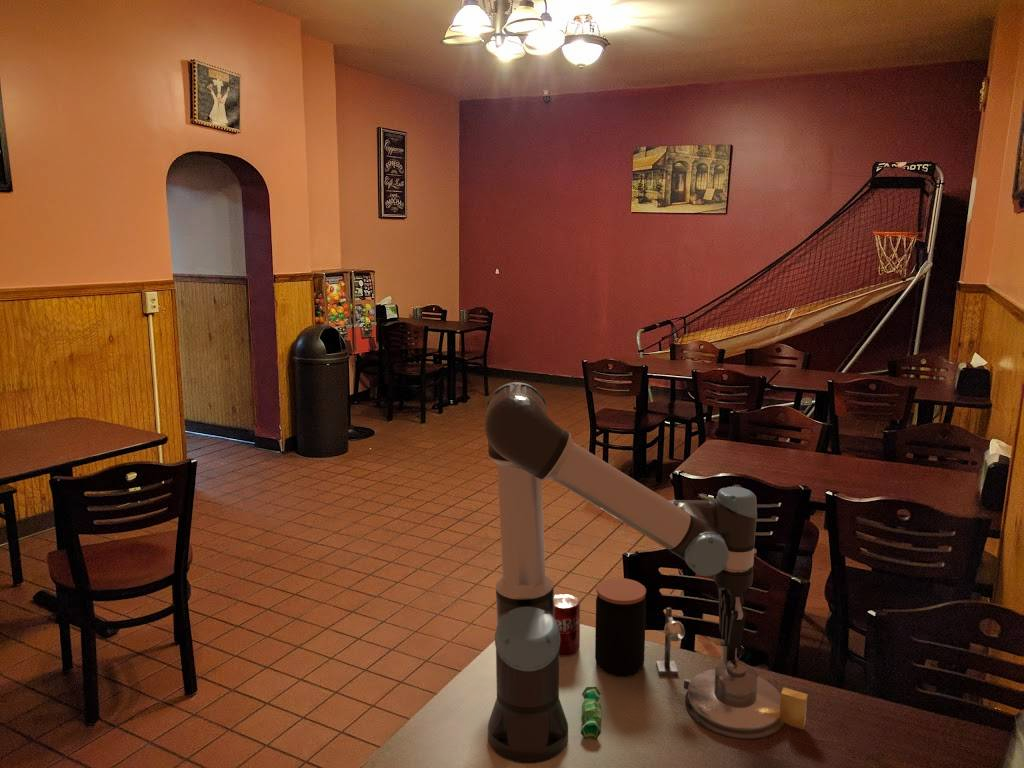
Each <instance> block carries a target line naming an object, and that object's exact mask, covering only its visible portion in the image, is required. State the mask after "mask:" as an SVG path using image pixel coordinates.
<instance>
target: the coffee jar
mask: <svg viewBox="0 0 1024 768" xmlns="http://www.w3.org/2000/svg"><path fill="white" fill-rule="evenodd" d="M596 585H597V586H596V593H597V596H596V598H595V638H594V639H595V641H594V643H595V647H594V653H595V654H594V655H595V656H594V659H595V662H596V665H598V668H599V669H600V670H601V671H602V672H603V673H606V674H607V675H609V676H611V677H612V676H613V677H618V678H627V677H631V676H634V675H637V673H639V672H640V670H641V669H642V668H643V666H644V664H645V652H646V651H645V647H646V645H645V643H646V642H645V641H646V615H647V614H646V611H647V609H646V607H647V600H646V594H647V588H646V587H645V585H643V584H642V583H640V582H639V581H636V580H635V579H634V580H633V579H630V578H626V577H625V578H624V577H614V578H613V577H611V578H608V579H607V578H606V579H604V580H602V581H600V582H599V583H597V584H596Z"/></svg>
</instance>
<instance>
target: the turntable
mask: <svg viewBox="0 0 1024 768" xmlns="http://www.w3.org/2000/svg"><path fill="white" fill-rule="evenodd" d="M714 685H715V668H714V669H713V668H712V669H707V670H703V671H702V672H699V673H697V674H695V675H694V676H693V677H692V678H691V679H688V678H685V679H684V680H683V689H685V690H687V691H688V702H689V705H690V707H691V708H692V710H693V711H694V712H695V714H696V715H698V716H699V717H700V718H701V719H703V720H704V721H705V722H707V723H709V724H711V725H713V726H715V727H718V728H720V729H723V730H727V731H731V732H736V733H759V732H764V731H767V730H769V729H771V728H773V727H775V726H776V725H777V724H778V723H779V722H783V723H784V724H786V725H790V726H794V727H796V728H798V729H799V728H800V729H802V730H804V728H805V725H806V722H807V711H808V710H807V708H808V696H809V695H808V694H807V693H806V692H805V693H804V692H801V691H797V690H795V689H791V688H788V687H784V686H783V688H782V689H781V693H780V692H779V690H778V689H777V688H776V687H775V686H774V685H773V684H771V683H770V682H769V681H768V680H766V679H765V678H763V677H760V676H758V679H757V695H756V702H755V703H754V704H753V705H751V706H749V707H744V708H738V707H732V706H729V705H726V704H724V703H722V702H721V701H719V700H718V699H717V698H716V696H715V694H714Z"/></svg>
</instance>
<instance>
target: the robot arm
mask: <svg viewBox="0 0 1024 768" xmlns="http://www.w3.org/2000/svg"><path fill="white" fill-rule="evenodd" d="M488 398H489V399H488V400H487V403H486V407H485V413H486V415H485V420H484V432H485V433H484V434H485V436H486V438H487V449H488V450H487V451H488V458H489V459H491V460H492V461H493V463H495V465H496V470H497V471H496V472H497V476H496V477H497V492H498V493H497V494H498V510H499V511H498V512H499V529H500V550H501V569H502V576H501V577H500V578H499V579H498V580H497V581H496V583H495V597H496V617H497V618H496V620H497V621H496V622H497V623H496V630H495V634H494V645H495V659H496V660H495V661H496V662H495V669H496V671H495V673H496V699H495V702H494V705H493V708H492V711H491V713H490V716H489V719H488V723H487V724H488V725H487V740H488V743H489V745H490V747H491V748H492V750H493V751H494V752H495V753H496V754H497V755H498V756H501V757H502V758H504V759H506V760H509V761H512V762H515V763H522V764H535V763H542V762H545V761H548V760H551V759H553V758H555V757H556V756H557V755H559V754H561V753H562V751H564V749H565V747H567V743H568V741H569V724H568V720H567V717H566V714H565V711H564V709H563V708H564V707H563V705H562V704H561V700H560V656H559V647H560V633H559V628H558V625H557V622H556V620H555V608H554V595H555V593H554V592H555V591H554V581H553V579H552V578H551V577H550V576H549V575H547V573H546V556H545V555H546V553H545V551H546V549H545V530H544V529H545V528H544V527H545V526H544V507H543V505H544V504H543V502H544V500H543V484H542V483H543V481H545V480H549V479H550V480H552V481H553V482H555V483H557V484H558V485H560V486H561V487H564V488H565V489H567V490H568V491H570V492H572V493H574V494H575V495H577V496H578V497H580V498H582V499H583V500H586V501H587V502H588V503H590V504H592V505H593V506H595V507H596V508H598V509H600V510H602V511H603V512H605V513H607V514H608V515H610V516H612V517H613V518H615V519H616V520H618V521H620V522H622V523H624V524H625V525H627V526H629V527H630V528H632V529H633V530H635V531H636V532H637V533H639V534H641V535H643V536H645V537H647V538H648V539H650V540H651V541H653V542H654V543H656V544H658V545H660V546H662V547H663V548H664V549H666V550H668V551H669V552H671V553H672V554H674V555H676V556H677V557H679V558H681V559H682V560H684V562H685V564H686V566H687V567H688V568H690V570H692V571H693V573H695V574H697V575H699V576H703V577H711V576H713V581H714V583H715V584H716V586H717V592H718V593H717V594H718V616H719V617H718V623H719V624H718V630H719V633H721V635H720V638H721V640H722V641H720V644H721V645H720V646H721V651H720V652H721V653H720V654H721V656H720V663H721V662H724V661H730V660H737V655H738V654H737V653H738V649H741V648H742V645H743V637H744V631H745V630H744V629H745V626H746V625H745V623H746V620H747V617H748V612H747V610H744V604H745V601H746V600H745V599H746V598H745V594H743V592H744V591H745V590H748V589H750V588H751V587H752V585H753V581H754V567H753V566H754V561H755V560H754V558H755V556H754V555H756V554H757V549H756V548H755V545H756V544H755V540H756V530H757V529H756V528H757V518H758V504H757V502H758V501H757V496H756V495H755V494H756V493H754V492H753V491H752V490H750V489H747V488H744V487H741V486H727V487H722V488H720V489H719V490H718V491H717V496H716V497H715V499H672V500H671V499H669V500H668V499H666V498H665V497H663V496H662V495H660V494H658V493H656V492H655V491H653V490H652V489H650V488H648V487H647V486H645V485H644V484H642V483H641V482H638V481H637V480H636V479H634V478H632V477H631V476H629V475H628V474H626V473H624V472H622V471H621V470H619V469H618V468H616V467H614V466H613V465H611V464H609V463H608V462H606V461H605V460H603V459H601V458H599V457H598V456H596V455H595V454H593V453H592V452H590V451H588V450H587V449H586V448H583V447H582V446H581V445H578V444H577V443H576V442H574V441H573V438H572V434H571V433H570V432H569V431H567V430H566V429H564V428H562V427H561V426H560V425H558V424H557V423H556V422H554V420H553V419H551V417H550V416H549V414H548V404H546V403H547V402H546V400H545V398H544V396H543V395H542V394H541V392H540V391H538V390H537V388H535V387H533V386H532V385H530V384H529V383H525V382H518V381H515V382H514V381H513V382H508V383H505V384H503V385H501V386H499V387H498V388H497V389H495V391H494V392H493V393H492V394H491V395H490V397H488Z"/></svg>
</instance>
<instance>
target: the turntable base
mask: <svg viewBox="0 0 1024 768" xmlns="http://www.w3.org/2000/svg"><path fill="white" fill-rule="evenodd" d="M684 704H685V709H686V711H687V713H688V714H689V716H690V717H691V718H692V719H693V720H694V721H695V722H696V723H697V724H698V725H700V726H701V727H702V728H704V729H706V730H708V731H709V732H711V733H714V734H716V735H719V736H720V737H721V736H723V737H725V738H728V739H729V738H730V739H734V740H741V741H742V740H744V741H753V740H761V739H765V738H768V737H772V736H773V735H775V734H777V733H779V732H780V730H781V729H782V728H783V726H784V724H785V723H783V722H779V723H778V724H777V725H776V726H775V727H773V728H771V729H769V730H767V731H764V732H759V733H736V732H731V731H727V730H723V729H720V728H718V727H715V726H713V725H711V724H709V723H707V722H705V721H704V720H703V719H701V718H700V717H699V716H698V715H696V714H695V712H694V711H693V710H692V708H691V707H690V705H689V702H688V690H687V692H686V693H685V697H684Z"/></svg>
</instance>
